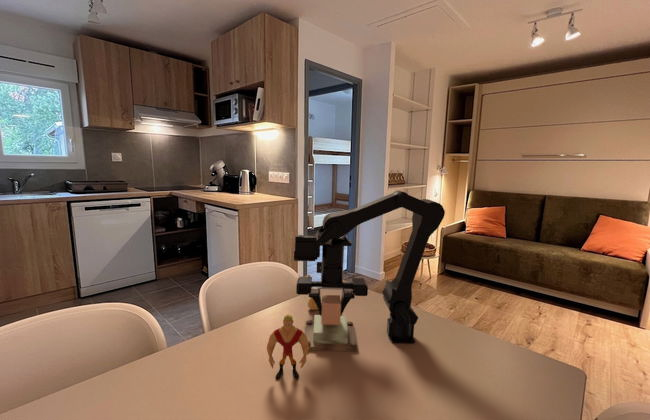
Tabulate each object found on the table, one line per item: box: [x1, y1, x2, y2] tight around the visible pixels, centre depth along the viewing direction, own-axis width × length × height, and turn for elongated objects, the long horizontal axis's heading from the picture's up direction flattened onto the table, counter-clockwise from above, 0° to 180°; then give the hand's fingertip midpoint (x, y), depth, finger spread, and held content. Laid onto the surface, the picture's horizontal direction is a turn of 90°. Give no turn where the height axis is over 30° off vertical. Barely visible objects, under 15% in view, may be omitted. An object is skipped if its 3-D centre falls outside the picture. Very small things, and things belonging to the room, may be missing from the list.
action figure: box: [266, 314, 310, 380], centre depth 66 cm, size 10×4×15 cm, turn 92°
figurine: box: [304, 274, 318, 311], centre depth 96 cm, size 8×6×12 cm
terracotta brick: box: [321, 294, 341, 325], centre depth 81 cm, size 5×5×6 cm
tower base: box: [304, 314, 358, 352], centre depth 82 cm, size 14×12×4 cm
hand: (330, 315), depth 81 cm, fingers closed on terracotta brick, 5 cm apart
